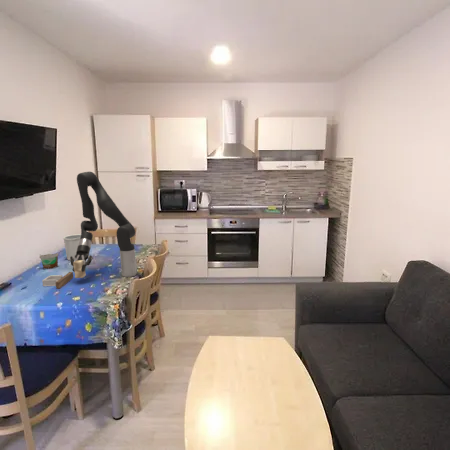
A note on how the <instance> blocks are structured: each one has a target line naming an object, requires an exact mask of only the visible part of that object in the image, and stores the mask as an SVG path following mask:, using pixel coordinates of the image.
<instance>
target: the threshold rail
mask: <svg viewBox="0 0 450 450" xmlns="http://www.w3.org/2000/svg"><path fill="white" fill-rule="evenodd" d="M73 278H74V272H73V271H69V272H68V273H66V274H65V275H62V278H61V279H59V280H58V281H57V282H56V286H55V288H56V289H57V290H59V289H61V288H62V287H64V286H65V285H66V284H68V283H69V282H70V281H71V280H72V279H73Z"/></svg>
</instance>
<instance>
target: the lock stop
mask: <svg viewBox="0 0 450 450" xmlns="http://www.w3.org/2000/svg"><path fill="white" fill-rule="evenodd" d="M82 265H83V260H77V261H75V260H74V262H73V266H74V272H73V273H74V278H75V279H84V278H85V276H87V273H86V270H85V271H84V272H82V271H81V269H82ZM73 266H72V267H73Z"/></svg>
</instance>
